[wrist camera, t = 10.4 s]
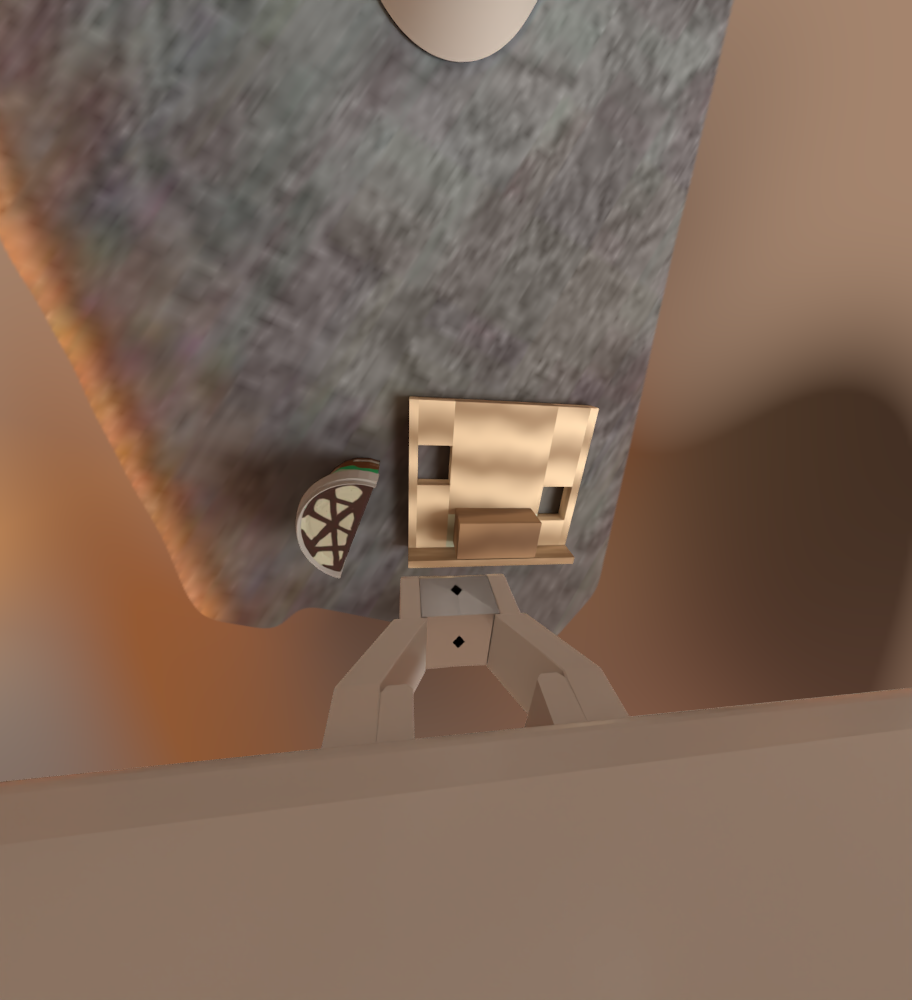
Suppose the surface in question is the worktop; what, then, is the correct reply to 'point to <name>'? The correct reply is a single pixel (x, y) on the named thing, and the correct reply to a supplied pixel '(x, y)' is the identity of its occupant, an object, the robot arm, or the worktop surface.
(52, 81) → the worktop surface
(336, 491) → the food container
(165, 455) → the worktop surface
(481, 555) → the block
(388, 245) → the worktop surface
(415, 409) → the wooden frame
